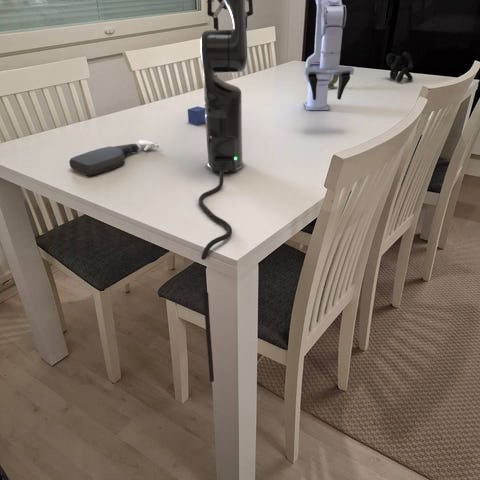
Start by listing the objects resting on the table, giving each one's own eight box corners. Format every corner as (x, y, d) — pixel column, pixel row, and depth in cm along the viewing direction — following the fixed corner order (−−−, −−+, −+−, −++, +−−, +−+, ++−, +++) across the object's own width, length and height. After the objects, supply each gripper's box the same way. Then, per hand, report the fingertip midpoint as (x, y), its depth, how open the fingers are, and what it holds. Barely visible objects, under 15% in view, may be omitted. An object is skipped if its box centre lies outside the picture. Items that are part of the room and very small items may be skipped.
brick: (207, 122, 153) (206, 108, 150) (197, 125, 150) (196, 111, 147) (198, 119, 155) (197, 106, 153) (188, 123, 152) (187, 109, 150)
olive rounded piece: (318, 88, 189) (319, 68, 185) (323, 85, 195) (325, 65, 190) (335, 90, 186) (337, 70, 182) (340, 86, 192) (342, 67, 187)
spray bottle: (67, 168, 120) (139, 144, 136) (91, 178, 114) (163, 151, 130) (65, 157, 118) (137, 134, 134) (89, 167, 112) (162, 142, 128)
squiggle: (400, 92, 202) (376, 71, 205) (417, 76, 202) (392, 56, 205) (405, 81, 191) (380, 59, 194) (423, 64, 191) (397, 42, 194)
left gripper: (204, -28, 131) (207, 32, 140) (253, -29, 131) (253, 31, 139) (206, -29, 137) (209, 29, 146) (252, -30, 137) (252, 28, 146)
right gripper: (307, 55, 127) (304, 103, 135) (358, 53, 127) (352, 102, 135) (304, 50, 133) (301, 96, 140) (352, 49, 133) (347, 95, 141)
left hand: (230, 30), depth 143 cm, fingers open, 8 cm apart
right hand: (326, 99), depth 138 cm, fingers open, 7 cm apart
